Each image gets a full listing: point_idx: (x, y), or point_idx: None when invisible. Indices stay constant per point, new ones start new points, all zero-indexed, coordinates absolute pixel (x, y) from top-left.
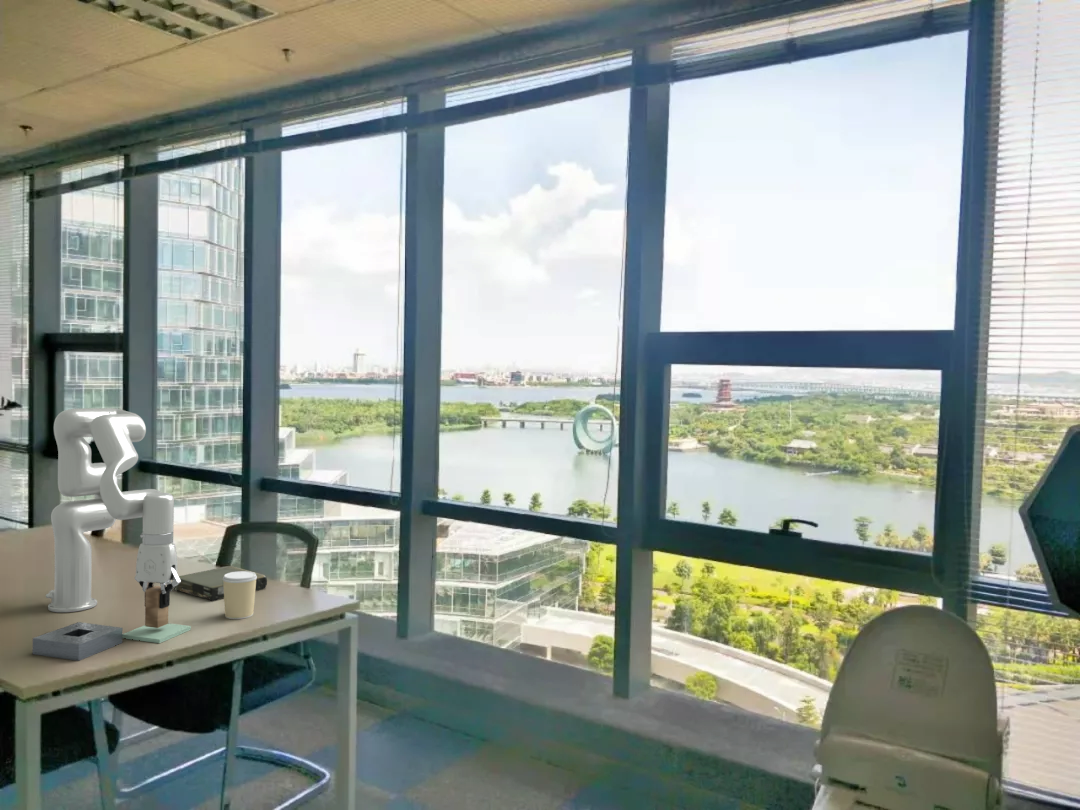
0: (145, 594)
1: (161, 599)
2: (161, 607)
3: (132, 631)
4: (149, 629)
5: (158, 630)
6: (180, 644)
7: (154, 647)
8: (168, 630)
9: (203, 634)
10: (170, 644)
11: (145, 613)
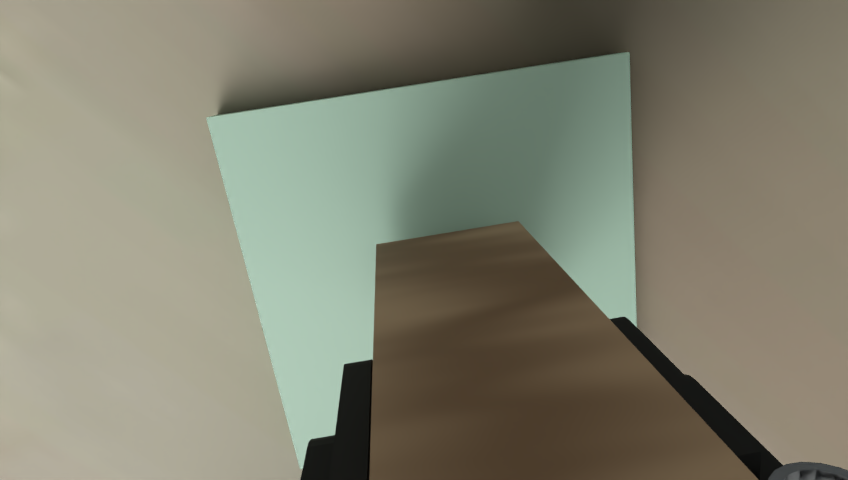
0: (713, 422)
1: (333, 450)
2: (343, 371)
3: (603, 157)
4: None
5: None
6: (42, 181)
7: (153, 10)
8: (357, 320)
9: (127, 427)
10: (113, 140)
11: (554, 264)
